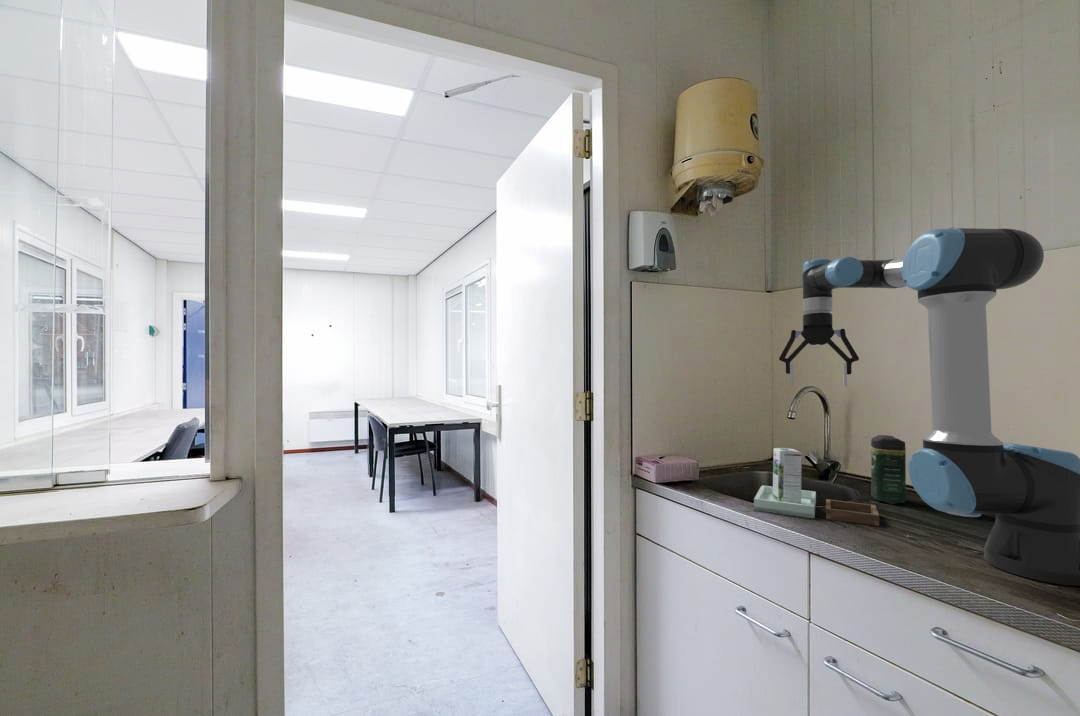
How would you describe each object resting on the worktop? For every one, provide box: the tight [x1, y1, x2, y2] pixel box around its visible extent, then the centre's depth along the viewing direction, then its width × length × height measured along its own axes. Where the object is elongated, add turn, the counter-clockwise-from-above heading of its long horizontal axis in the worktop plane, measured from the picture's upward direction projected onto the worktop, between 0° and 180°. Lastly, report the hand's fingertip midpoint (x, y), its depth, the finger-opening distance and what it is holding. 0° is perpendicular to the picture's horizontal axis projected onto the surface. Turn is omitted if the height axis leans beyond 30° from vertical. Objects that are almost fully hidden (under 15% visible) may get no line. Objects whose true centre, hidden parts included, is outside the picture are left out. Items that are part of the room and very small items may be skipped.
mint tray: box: [753, 484, 817, 520], centre depth 134 cm, size 18×14×3 cm
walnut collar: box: [825, 498, 880, 527], centre depth 125 cm, size 11×11×2 cm
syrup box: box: [772, 447, 803, 504], centre depth 134 cm, size 6×6×14 cm
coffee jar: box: [870, 434, 907, 504], centre depth 142 cm, size 10×8×19 cm
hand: (817, 385), depth 144 cm, fingers open, 13 cm apart
